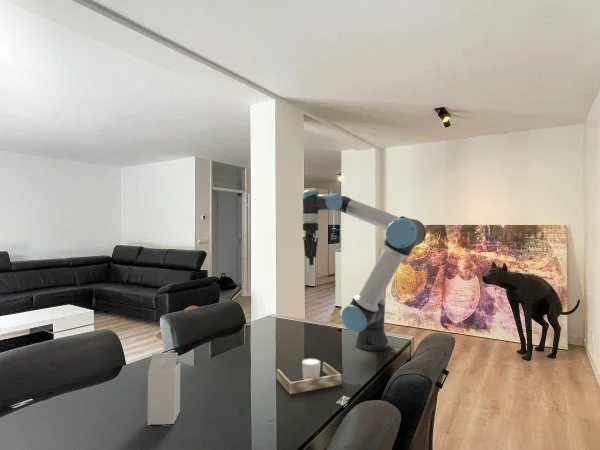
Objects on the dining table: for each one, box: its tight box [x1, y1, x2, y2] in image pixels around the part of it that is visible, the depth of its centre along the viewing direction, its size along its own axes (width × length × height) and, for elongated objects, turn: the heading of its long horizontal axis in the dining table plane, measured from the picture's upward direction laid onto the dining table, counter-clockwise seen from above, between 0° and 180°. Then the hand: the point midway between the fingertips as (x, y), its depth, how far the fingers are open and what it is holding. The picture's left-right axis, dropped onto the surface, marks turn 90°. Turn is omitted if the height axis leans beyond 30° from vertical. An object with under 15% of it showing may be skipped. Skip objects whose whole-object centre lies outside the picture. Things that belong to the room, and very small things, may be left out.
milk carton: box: [147, 352, 181, 426], centre depth 104 cm, size 7×7×19 cm
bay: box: [276, 361, 342, 395], centre depth 131 cm, size 20×13×4 cm
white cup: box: [301, 358, 322, 380], centre depth 131 cm, size 7×7×7 cm
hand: (310, 271), depth 176 cm, fingers closed
